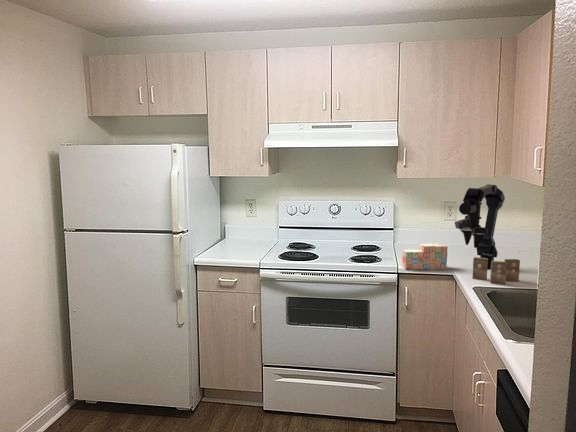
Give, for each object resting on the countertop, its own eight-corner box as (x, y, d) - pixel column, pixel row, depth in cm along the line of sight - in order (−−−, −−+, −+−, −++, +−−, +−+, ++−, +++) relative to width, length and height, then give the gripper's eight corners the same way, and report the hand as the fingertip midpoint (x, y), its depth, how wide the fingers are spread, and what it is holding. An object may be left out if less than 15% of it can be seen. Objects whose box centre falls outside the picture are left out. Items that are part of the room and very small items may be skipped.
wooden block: (473, 277, 230) (474, 257, 228) (486, 279, 227) (487, 258, 225) (472, 278, 227) (473, 258, 226) (485, 280, 225) (487, 259, 223)
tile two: (503, 280, 225) (504, 259, 224) (515, 279, 225) (517, 259, 224) (506, 281, 222) (507, 260, 221) (518, 281, 223) (520, 260, 221)
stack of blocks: (405, 269, 245) (406, 246, 243) (402, 267, 251) (402, 243, 249) (446, 269, 245) (447, 245, 244) (442, 266, 252) (443, 243, 250)
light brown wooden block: (490, 282, 222) (491, 260, 220) (504, 282, 220) (505, 261, 219) (491, 283, 219) (492, 262, 218) (505, 284, 218) (506, 262, 216)
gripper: (449, 211, 240) (447, 242, 241) (465, 215, 221) (463, 248, 223) (471, 212, 240) (468, 243, 242) (489, 216, 222) (486, 249, 223)
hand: (471, 246), depth 232 cm, fingers open, 9 cm apart
